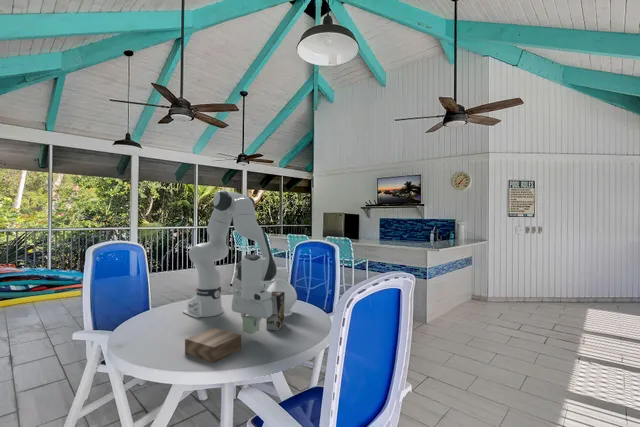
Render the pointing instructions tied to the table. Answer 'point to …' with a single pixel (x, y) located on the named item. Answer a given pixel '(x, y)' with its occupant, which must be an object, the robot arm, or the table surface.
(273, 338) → the table surface
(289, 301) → the decorative vase
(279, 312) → the coffee box
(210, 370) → the table surface
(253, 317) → the sage block
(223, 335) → the walnut block
